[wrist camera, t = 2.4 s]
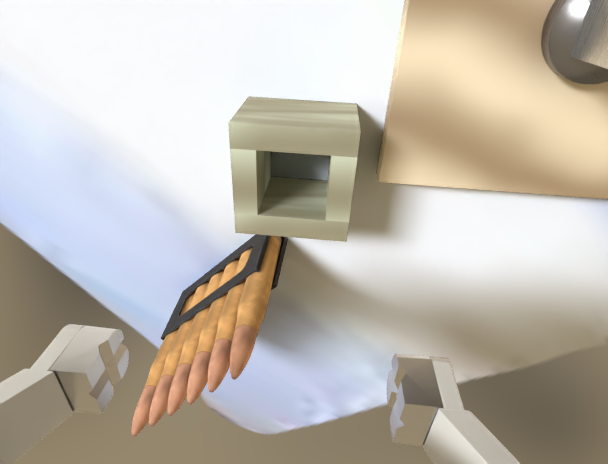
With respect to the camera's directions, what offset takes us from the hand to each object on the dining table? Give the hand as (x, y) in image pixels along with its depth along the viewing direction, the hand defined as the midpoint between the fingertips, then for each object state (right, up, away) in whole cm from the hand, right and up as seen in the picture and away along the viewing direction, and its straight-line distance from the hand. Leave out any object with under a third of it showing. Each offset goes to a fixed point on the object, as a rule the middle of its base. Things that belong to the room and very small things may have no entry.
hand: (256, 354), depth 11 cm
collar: (+1, +9, +13) cm, 16 cm away
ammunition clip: (-4, +1, +19) cm, 19 cm away
